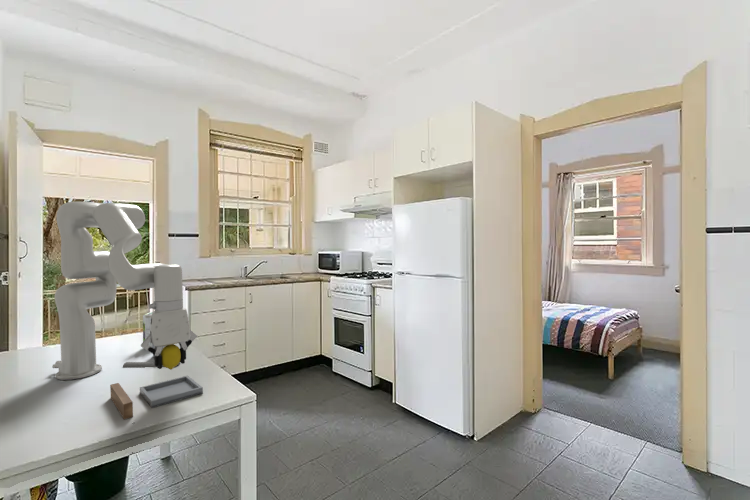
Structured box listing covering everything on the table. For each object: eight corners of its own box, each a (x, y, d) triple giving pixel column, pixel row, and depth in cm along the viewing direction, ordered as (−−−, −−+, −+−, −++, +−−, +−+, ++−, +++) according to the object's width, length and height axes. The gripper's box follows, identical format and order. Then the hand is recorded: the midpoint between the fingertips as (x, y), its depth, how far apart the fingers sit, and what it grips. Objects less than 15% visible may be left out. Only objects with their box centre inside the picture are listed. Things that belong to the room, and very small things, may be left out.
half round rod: (175, 369, 135) (174, 364, 135) (121, 369, 135) (121, 364, 135) (181, 365, 139) (181, 360, 139) (129, 365, 139) (129, 360, 139)
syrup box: (149, 344, 164) (148, 312, 163) (163, 344, 164) (163, 311, 164) (142, 348, 158) (141, 314, 157) (157, 348, 158) (156, 314, 158)
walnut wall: (124, 419, 97) (123, 404, 97) (110, 398, 110) (110, 384, 109) (133, 416, 98) (132, 401, 98) (118, 396, 111) (118, 382, 111)
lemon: (172, 373, 109) (171, 346, 109) (156, 372, 110) (155, 345, 110) (185, 367, 115) (184, 341, 114) (169, 365, 116) (169, 340, 115)
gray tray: (151, 407, 103) (151, 401, 103) (139, 393, 113) (139, 387, 113) (202, 393, 113) (202, 387, 113) (187, 380, 122) (187, 375, 122)
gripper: (139, 311, 103) (141, 376, 104) (203, 303, 115) (204, 361, 116) (132, 308, 108) (134, 369, 109) (194, 300, 120) (196, 355, 121)
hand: (170, 364), depth 112 cm, fingers closed on lemon, 5 cm apart
